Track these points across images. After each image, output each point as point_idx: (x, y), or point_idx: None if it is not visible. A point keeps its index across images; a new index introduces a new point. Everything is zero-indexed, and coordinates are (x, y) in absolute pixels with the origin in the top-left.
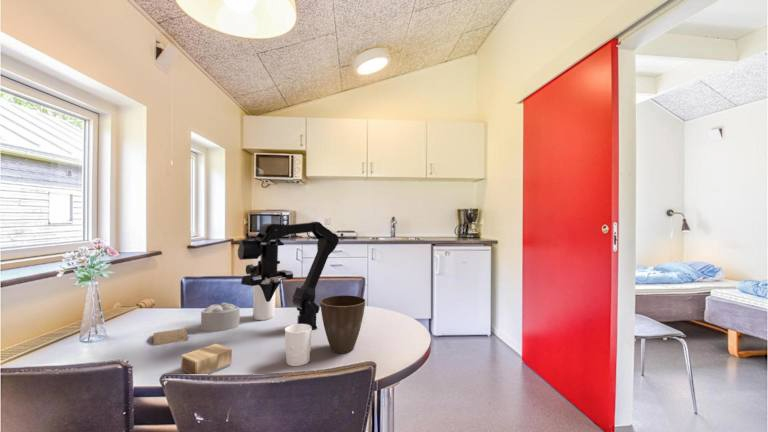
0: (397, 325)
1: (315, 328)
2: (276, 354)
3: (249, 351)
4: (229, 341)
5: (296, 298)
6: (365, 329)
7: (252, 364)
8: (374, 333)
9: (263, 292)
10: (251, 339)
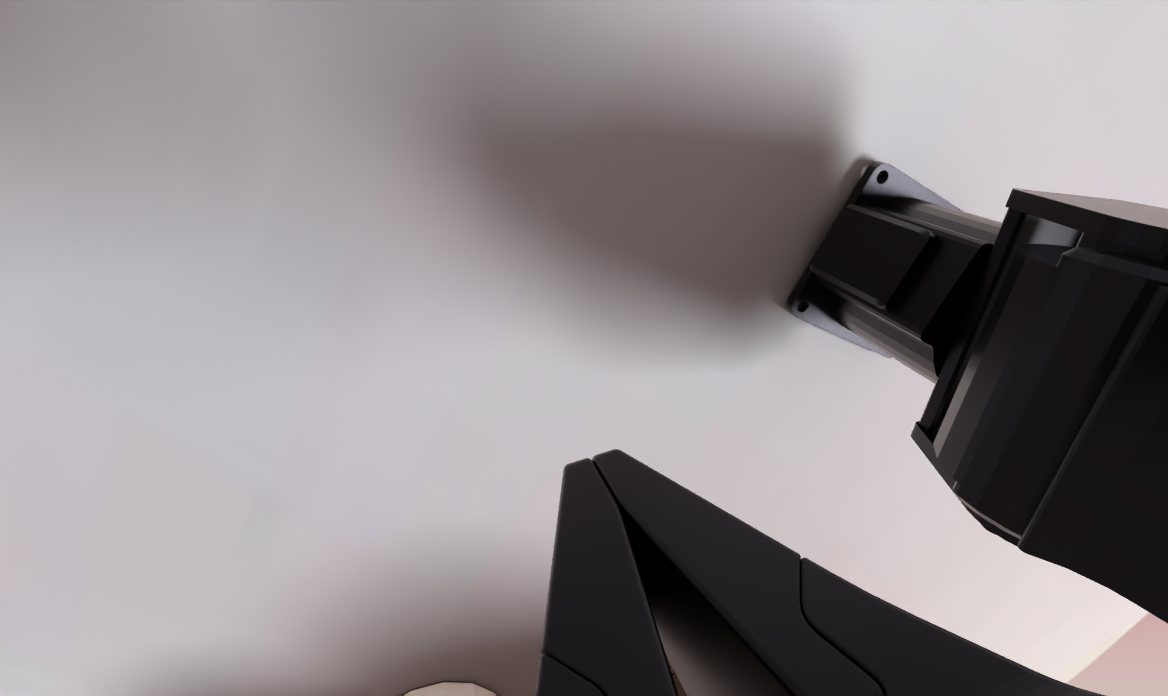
0: None
1: (878, 353)
2: (377, 600)
3: (206, 450)
4: (42, 13)
5: (1077, 439)
6: (1003, 542)
7: (161, 660)
8: (964, 610)
9: (540, 681)
10: (326, 167)
